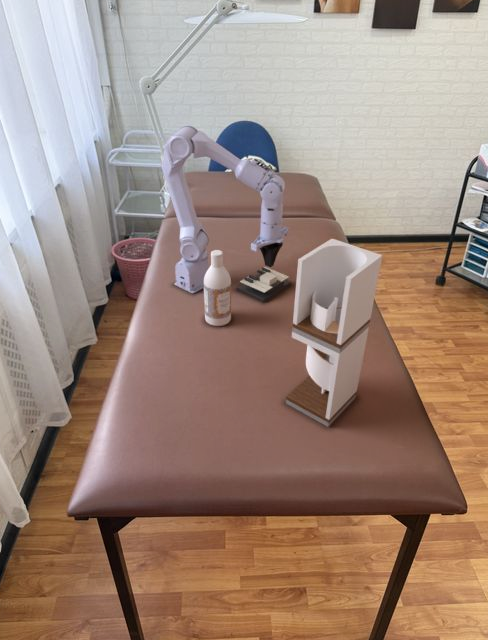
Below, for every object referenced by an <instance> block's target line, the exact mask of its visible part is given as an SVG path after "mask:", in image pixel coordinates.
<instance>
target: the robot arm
mask: <svg viewBox="0 0 488 640" xmlns="http://www.w3.org/2000/svg"><path fill="white" fill-rule="evenodd" d="M192 154H193V157H192V158H193V159H199V158H206V157H207V158H209V159H210V160H212V161H214V162H216V163H218V164H219V165H221V166H223V167H225V168H227V169H228V170H231V171H232V172H234V175H235V179H236V180H238V181H239V182H241V183H242V184H244V185H246V186H248V187H249V188H251V189H253V190H254V191H256V192H257V193H259V195H260V197H261V205H260V228H259V230H260V232H259V235H258V236H257V237H256V239H254V241H253V242H251V243H250V250H251V251H253V252H255V253H258V252H259V251H260V252H261V255H262V258H263V262H264V266H265V267H267V268H273V267H274V265H275V262H276V259H277V256H278V254H279V252H280V250H281V249H282V247H283V246H284V245H283V244H284V241H285V239H284V237H285V236H289V234H290V228H289V227H286V226H283V208H284V204H283V202H284V199H283V196H284V190H285V187H286V185H285V184H286V183H285V180H284V178H283V177H282V176H281V174H279V173H278V172H273V171H271V170H269V171H268V170H266V169H265V168H264V167H262V166H260V165H259V164H257V163H258V162H257V160H255V159H252V160H251V159H249V158H245V159H241V158H239V157H237V156H236V155H234V154H233V153H232V152H231V151H229V150H227V149H226V148H225V147H223V146H222V145H220V144H219V143H218V142H216V141H215V140H213V139H212V138H211V137H209V136H208V135H207V134H206V133H205V132H203V131H202V130H198V129H197V128H196V127H195V126H193V125H189V124H187V125H184V126H183V125H182V126H181V127H180V128H179V129H178V131H176V133H175V134H173V135H172V136H170V138H168V140H167V142H166V143H165V144H164V151H163V155H162V159H161V164H160V166H161V171H162V174H163V176H164V180H165V184H166V186H167V190H168V193H169V197H170V199H171V202H172V206H173V209H174V212H175V215H176V219H177V222H178V225H179V242H180V247H179V251H180V253H179V254H180V255H181V259H180V260H179V261H178V262H176V263H175V266H174V272H175V282H174V283H173V285H174V286H176V287H178V288H180V289H182V290H184V291H185V292H188V293H190V294H191V295H192V294H195V293H198V292H199V291H201V290H204V277H205V274H206V272H207V270H208V269H209V254H208V251H207V249H206V248H207V246H208V244H209V241H210V237H209V234H208V233H207V231H205V229H204V227H203V224H202V223H201V222H200V221H199V219H198V217H197V213H196V210H195V206H194V203H193V199H192V196H191V192H190V190H189V186H188V181H187V178H186V174H185V172H184V169H183V166H184V164H185V162H186V161H187V160H188V159H189V158H190V157H191V156H192Z"/></svg>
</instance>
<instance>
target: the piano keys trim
mask: <svg viewBox="0 0 488 640" xmlns="http://www.w3.org/2000/svg"><path fill="white" fill-rule="evenodd" d="M256 272H257V273H258V274H265V273H267V272H269V273H271V274H274V275H276V276H277V280H278V281H280V282H282V281H284V280H288V279H289V278H290V276H289V275H286V274H284V273H281V272H279V271H276V270H274V269H271V268H270V267H268V266H263V267H261V268H260V269H257V271H256ZM255 276H256V275H255ZM255 276H254V275H252V274H249V275H248V276H246V277H244V278H243V279H241V280H240V281H239V283H241V284H243V283H244V284H246V285H248V286H250V287H253V288H255V289H257V290H259V291H262V292H264V293H265V292H266V291H268V290H270V289H271V288H273V287H271V286H269V285H267V284H264V283H262V282H260V281H257V279H258V278H257V277H255ZM258 285H259V286H258ZM267 289H268V290H267Z"/></svg>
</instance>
